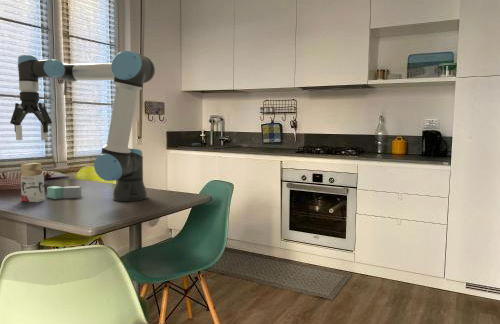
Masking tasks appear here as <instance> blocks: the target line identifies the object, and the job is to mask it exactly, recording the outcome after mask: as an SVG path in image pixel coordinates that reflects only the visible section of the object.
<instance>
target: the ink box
mask: <svg viewBox="0 0 500 324" xmlns="http://www.w3.org/2000/svg"><path fill="white" fill-rule="evenodd" d="M20 190H21V191H20V192H21V202H27V203H39V202H40V203H41V202H44V201H45V200H46V199H45V175H44V174H40V175H33V176H22V175H20Z"/></svg>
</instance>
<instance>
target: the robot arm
mask: <svg viewBox="0 0 500 324" xmlns="http://www.w3.org/2000/svg"><path fill="white" fill-rule="evenodd" d="M17 68H18V69H17V70H18V71H17V72H18V86H19V87H18V90H19V100H20V101H21V102H15V103H14V104H15V105H14V110H13V113H12V116H11V118H10V121H9V123H10V124H11V125H14V133H15V138H16V139H15V140H16V141H23V126H22V123H23V120H24V119H25V117H26V116H27V115H28V114H34V116H35V117H36V118H37V119H38V122H39V123H41V124H40V139H41V140H40V141H48V133H49V125H50V124H51V125H52V123H53V122H52V120H51V117H50V115H49V113H48V110H47V108H46V104H45V102H39V101H40V92H39V91H40V89H39V88H40V87H39V79H41V78H42V79H44V78H46V79H55V80H61V81H67V82H71V83H72V82H77V81H113V83H114V85H115V86H116V88H115V95H114V101H113V107H112V113H111V118H110V124H109V130H108V134H107V135H108V136H107V142H106V143H105V144H104V145H102V148H101V152H100V154H99V155H98V156H97V157H96V158H95V160H94V162H93V169H94V171H95V173H96V175H97V176H98V177H99V178H100V179H101V180H104V181H107V182H113V181H114V182H115V181H116V185H115V188H114V191H113V195H112V196H113V197H112V200H114V201H117V202H137V201H142V200H145V199H147V198H148V192H147V189H146V186H145V183H144V167H143V165H144V162H143V161H144V156H143V151H142V149H138V148H129V142H130V138H131V132H132V126H133V121H134V116H135V115H134V114H135V110H136V109H135V108H136V104H137V99H138V93H139V92H140V90H143V88H144V87H143V85H144V84H146V83H148V82H150V81H151V80H152V79H153V78H154V76H155V73H156V72H155V71H156V67H155V64H154V62H153V61H152V59H150V58H149V57H147V56H146V55H141V54H140V53H138V52H134V51H131V50H121V51H120V52H118V53H117V54H115V55H114V56H113V58H112V60H111V62H99V63H98V62H97V63H70V64H69V63H64V62H62V61H61V60H60V59H53V58H50V59H38V57H37V56H35V55H31V54H22V55H21V54H20V55H19V56H18V58H17Z"/></svg>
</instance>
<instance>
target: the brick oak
mask: <svg viewBox="0 0 500 324" xmlns="http://www.w3.org/2000/svg"><path fill="white" fill-rule="evenodd" d="M20 171H21V173H20V174H21V176H33V175H43V174H42V171H43V170H42V163H41V162H29V163H21V164H20Z"/></svg>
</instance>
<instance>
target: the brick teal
mask: <svg viewBox="0 0 500 324" xmlns="http://www.w3.org/2000/svg"><path fill="white" fill-rule="evenodd" d="M63 188H64V187H63V186H57V185H51V186H47V187H46V191H47V192H46V193H47V198H49V199H52V200H53V199H55V200H58V199H64V198H63Z"/></svg>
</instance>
